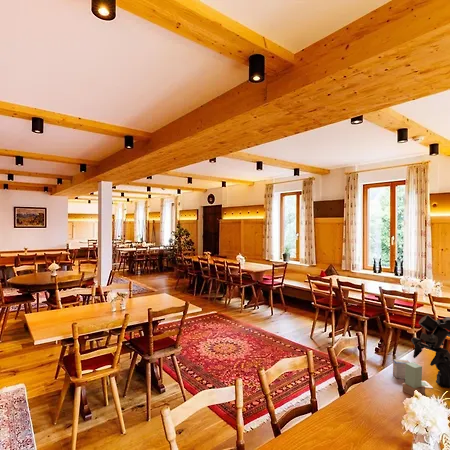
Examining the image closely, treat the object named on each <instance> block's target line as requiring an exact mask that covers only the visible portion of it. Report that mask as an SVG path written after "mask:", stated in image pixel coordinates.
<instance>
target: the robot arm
mask: <svg viewBox="0 0 450 450" xmlns="http://www.w3.org/2000/svg"><path fill="white" fill-rule="evenodd" d="M418 325H420V326H421V327H422V328H423V329H425V330H427V331H428V332H432V333H431V334H430V333H429V334H427V333H424V332H421V334H420V336H419V337H420V338H419V337H412V338H411V339H410V341H411V343H412V344H413V346H414V349H413V355H412V357H413V359H416V358H417V357H418V356H419V354H421V353H422V352H423V349H424V348H425V349H427V350H429V351H432V352H434V353H435V356H434V357H433V359H432V360H431V361H430V364H429V366H431V367H433V366H434V365H435V367H436V369H437V370H438V371H437V374H436V380H435V382H436V383H437V384H438V385H439V386H440V387H442V388H447V389H450V351H449V349H446V348H443V347H441V346H444V344H445V343H444V341H445V340H446V338H447V337H448V338H450V316H446V317H444V318H442V319H441V318H440V319H434V318H433V317H431V316H430V315H429V314H426V315H425V316H422V317H421V318H420V320H419V321H418ZM422 340H423V341H422Z"/></svg>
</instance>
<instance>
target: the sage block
mask: <svg viewBox="0 0 450 450" xmlns="http://www.w3.org/2000/svg"><path fill="white" fill-rule="evenodd" d="M422 379H423V366H422V365H420V364H418V363H415V362H414V361H412V362H411V361H410V363H406V369H405V379H404V380H405V381H404V383H405V384H407V385H409V386H411V387H413V388H418V387H421V386H422V381H423V380H422Z"/></svg>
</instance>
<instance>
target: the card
mask: <svg viewBox="0 0 450 450" xmlns="http://www.w3.org/2000/svg"><path fill="white" fill-rule="evenodd" d="M422 385H423V386H425V389H434V387H433V386H432V385H431V384H430V383H429V382H427V381H426V380H422Z"/></svg>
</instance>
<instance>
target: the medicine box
mask: <svg viewBox="0 0 450 450" xmlns="http://www.w3.org/2000/svg"><path fill="white" fill-rule="evenodd" d="M406 363H411V361H409V360H407V359H394V358H393V359H392V375H393V376H394V378H396V379H402V380H403V379H404V380H405V369H406Z"/></svg>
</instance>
